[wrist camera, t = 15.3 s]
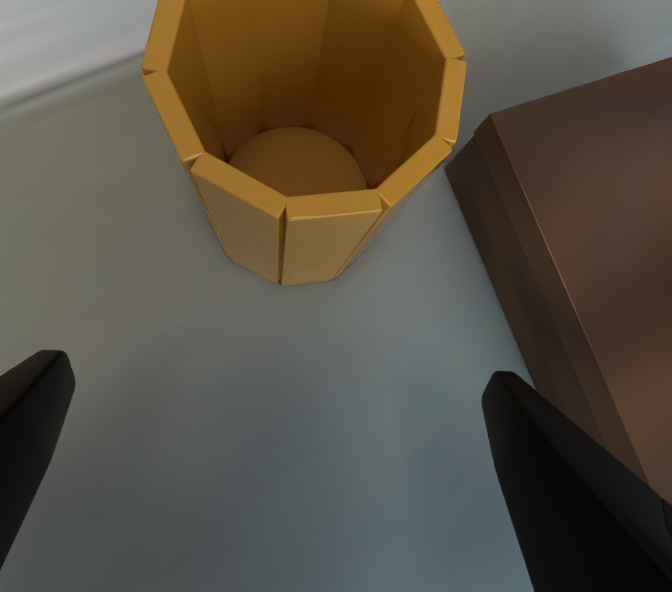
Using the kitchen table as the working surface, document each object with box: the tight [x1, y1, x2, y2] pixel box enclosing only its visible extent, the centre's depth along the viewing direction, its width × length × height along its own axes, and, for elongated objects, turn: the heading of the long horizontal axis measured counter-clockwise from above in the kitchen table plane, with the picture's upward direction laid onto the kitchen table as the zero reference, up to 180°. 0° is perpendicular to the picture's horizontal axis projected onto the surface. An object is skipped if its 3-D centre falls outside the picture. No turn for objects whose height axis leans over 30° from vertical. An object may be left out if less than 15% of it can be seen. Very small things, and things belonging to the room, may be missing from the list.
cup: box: [141, 0, 467, 286], centre depth 13 cm, size 6×7×8 cm
